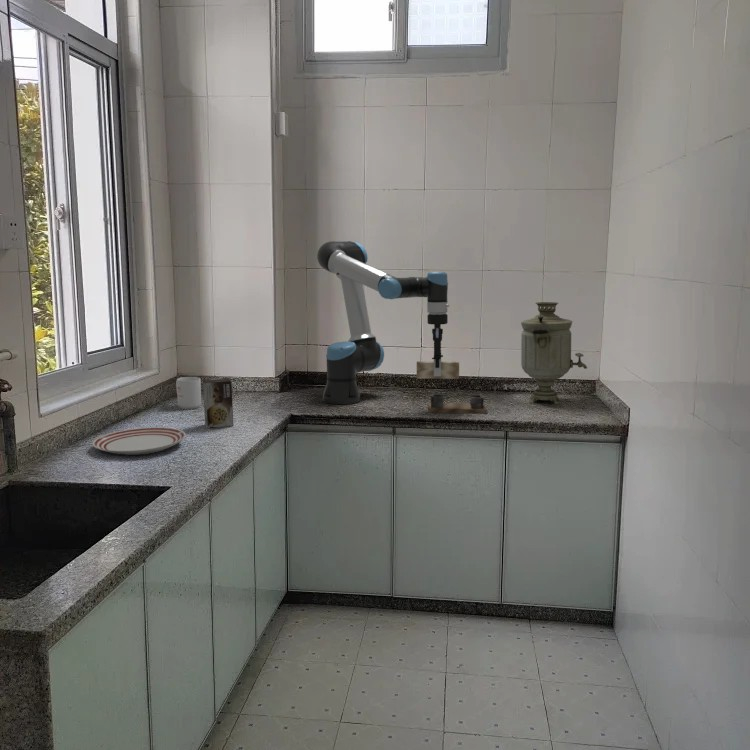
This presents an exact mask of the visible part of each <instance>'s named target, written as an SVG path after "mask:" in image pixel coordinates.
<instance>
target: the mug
mask: <svg viewBox="0 0 750 750" xmlns="http://www.w3.org/2000/svg"><path fill="white" fill-rule="evenodd" d="M175 384H176V395H177V406H178V407H179V408H180V409H182V410H194V409H199V408H200V407H201V405H202V386H201V385H202V381H201V377H199V376H184V377H178V378H176V380H175Z"/></svg>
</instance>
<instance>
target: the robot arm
mask: <svg viewBox="0 0 750 750" xmlns="http://www.w3.org/2000/svg"><path fill="white" fill-rule="evenodd" d="M316 258H317V262H318V264H319V266H320V267H321V268H322V269H324V270H325V271H328V273H331V274H333V275H334V274H335V275H336V277H337V278H338V279H339V280H340V282H341V283H340V284H341V289H342V293H343V300H344V305H345V310H346V311H345V312H346V316H347V321H348V327H349V328H348V329H349V334H350V338H349V339H348V341H337V342H334V343H331V344H330V345H328V346H327V348H326V385H325V387H324V390H323V394H322V402H324V403H326V404H330V405H350V404H356V403H359V402H360V401H361V394H360V390H359V388H358V385H357V373H363V372H371V371H374V370H376V369H378V368H379V367H380V366H382V363H384V362H383V361H384V359H385V351H384V347H383V345H382V344H381V343H380V342H378V341H377V338H376V337H377V336H375V335H374V334H373V333H372V332H371V325H370V320H369V319H370V318H369V314H368V307H367V301H366V295H365V289H364V286H366V287H367V288H370V289H372V290H374V291H375V292H378V294H379V295H380V297H381V298H383V299H385V300H395V299H405V298H406V299H407V298H410V299H411V298H427V299H426V301H427V302H426V303H427V304H426V307H427V308H426V311H427V315H426V317H427V322H426V323H427V324H428V325H433V326H434V328H432V329H431V334H432V341H433V357H431V360H433V362H434V376H441V362H442V358H443V357H444V355H443V354H442V341H443V334H444V333H443V332H444V330H443V329H444V328H442V327H441V325H446V324H448V308H449V307H450V305H449V304H448V287H449V282H448V273H447V272H446V271H429V272H427V275H426V277H423V276H421V277H420V276H408V277H396V276H394V275H391V274H388V273H387V272H384V271H383V270H380V269H378V268H375V267H374V266H371V265H368V264H367V263H368V252H367V250H366V248H365V247H364V246H363V245H362V244H361V243H359V242H356V241H351V240H348V241H335V240H333V241H331V240H330V241H328V242H325V243H323V244H322V245H321V246H320V247H319V249H318V250H317V255H316Z"/></svg>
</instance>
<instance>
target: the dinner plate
mask: <svg viewBox="0 0 750 750" xmlns="http://www.w3.org/2000/svg"><path fill="white" fill-rule="evenodd" d="M186 436H187V434H186V433H185V431H184V430H181V429H178V428H173V427H167V426H166V427H164V426H163V427H162V426H161V427H160V426H154V427H150V426H149V427H137V428H128V429H124V430H118V431H114V432H113V431H112V432H110V433H107V434H104V435H101V436H100V437H97V438H95V440H93V441H92V444H91V445H92V447H93V448H95V449H97V450H100V451H103V452H106V453H109V454H110V453H111V454H115V453H116V454H115V455H120V454H125V455H124V456H140V454H143V455H149V453H151V454H155V452H156V453H159V452H162V451H165V450H168V449H169V448H171V447H173V446H176V445H178V444H179V443H180V442H182V441H183V440H185V438H186Z"/></svg>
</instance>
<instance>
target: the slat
mask: <svg viewBox="0 0 750 750" xmlns="http://www.w3.org/2000/svg"><path fill="white" fill-rule="evenodd" d="M416 379H431V380H432V379H437V380H438V379H441V380H442V379H443V380H448V379H449V380H450V379H451V380H453V379H454V380H456V379H457V380H459V379H460V361H441V376H434V361H416Z"/></svg>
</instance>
